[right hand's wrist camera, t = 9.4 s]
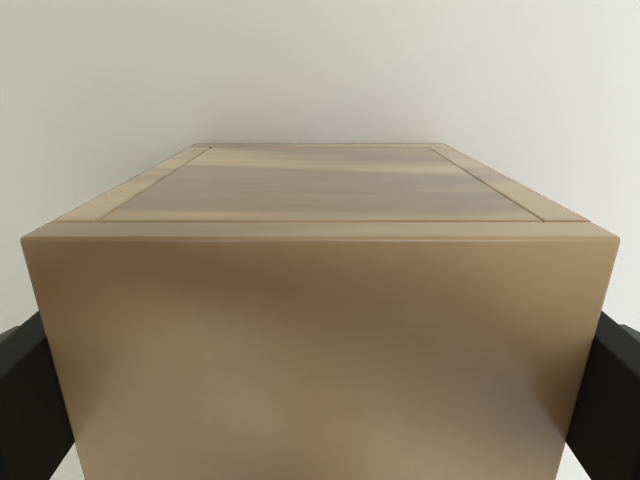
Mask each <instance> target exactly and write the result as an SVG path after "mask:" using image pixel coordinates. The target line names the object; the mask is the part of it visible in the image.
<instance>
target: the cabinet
mask: <svg viewBox="0 0 640 480" xmlns="http://www.w3.org/2000/svg"><path fill="white" fill-rule="evenodd" d="M20 242H21V246H22V250H23V253H24V257H25V261H26V264H27V268H28V272H29V275H30V279H31V283H32V286H33V290H34V294H35V297H36V301H37V305H38V308H39V312H40V316H41V319H42V323H43V327H44V330H45V334H46V338H47V342H48V345H49V349H50V353H51V356H52V360H53V364H54V367H55V371H56V375H57V378H58V382H59V386H60V389H61V393H62V397H63V400H64V404H65V408H66V411H67V415H68V419H69V422H70V426H71V430H72V434H73V437H74V441H75V445H76V448H77V452H78V456H79V459H80V463H81V467H82V470H83V474H84V478H85V480H555V479H556V475H557V472H558V468H559V464H560V461H561V457H562V453H563V450H564V446H565V442H566V439H567V435H568V431H569V428H570V424H571V420H572V416H573V413H574V409H575V405H576V402H577V398H578V394H579V391H580V387H581V383H582V380H583V376H584V372H585V369H586V365H587V361H588V358H589V354H590V350H591V347H592V343H593V339H594V336H595V332H596V328H597V325H598V321H599V317H600V314H601V310H602V306H603V303H604V299H605V295H606V291H607V288H608V284H609V280H610V277H611V273H612V269H613V266H614V262H615V258H616V255H617V251H618V247H619V244H620V238H619V237H618V236H616V235H614V234H612V233H611V232H609V231H607V230H605V229H603V228H601V227H599V226H597V225H595V224H594V223H591V222H590V220H588V219H586V218H584V217H582V216H580V215H578V214H576V213H574V212H573V211H571V210H569V209H567V208H565V207H563V206H561V205H559V204H557V203H555V202H554V201H552V200H550V199H548V198H546V197H544V196H542V195H540V194H538V193H537V192H535V191H533V190H531V189H529V188H527V187H525V186H523V185H521V184H519V183H518V182H516V181H514V180H512V179H510V178H508V177H506V176H504V175H502V174H500V173H499V172H497V171H495V170H493V169H491V168H489V167H487V166H485V165H483V164H482V163H480V162H478V161H476V160H474V159H472V158H470V157H468V156H466V155H464V154H463V153H461V152H459V151H457V150H455V149H453V148H451V147H449V146H447V145H445V144H194V145H192V146H190V147H189V148H187V149H186V150H184V151H182V152H180V153H178V154H176V155H174V156H173V157H171V158H169V159H167V160H165V161H163V162H161V163H160V164H158V165H156V166H154V167H152V168H150V169H148V170H146V171H145V172H143V173H141V174H139V175H137V176H135V177H133V178H132V179H130V180H128V181H126V182H124V183H122V184H120V185H118V186H117V187H115V188H113V189H111V190H109V191H107V192H105V193H104V194H102V195H100V196H98V197H96V198H94V199H92V200H90V201H89V202H87V203H85V204H83V205H81V206H79V207H77V208H76V209H74V210H72V211H70V212H68V213H66V214H64V215H63V216H61V217H59V218H57V219H55V220H53V221H52V222H51V223H48V224H46V225H44V226H42V227H40V228H38V229H36V230H34V231H33V232H31V233H29V234H27V235H25V236H23V237H22V238H21V241H20Z"/></svg>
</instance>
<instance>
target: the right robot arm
mask: <svg viewBox="0 0 640 480" xmlns="http://www.w3.org/2000/svg"><path fill="white" fill-rule="evenodd" d="M74 442H75V441H74V437H73V434H72V430H71V426H70V422H69V419H68V415H67V411H66V408H65V404H64V400H63V397H62V393H61V389H60V386H59V382H58V378H57V375H56V371H55V367H54V364H53V360H52V356H51V353H50V349H49V345H48V342H47V338H46V334H45V330H44V327H43V323H42V319H41V316H40V312H39V311H38V312H37V313H36V314H34V315H33V316H32V317H31V318H29V319H28V320H27V321H26V322H25V323H23V324H22V325H21V326H16V327H14V328H12V329H10V330H8V331H6V332H4V333H2V334H0V480H49V479H50V478H51V476H52V475H53V473H54V472H55V470H56V469H57V467H58V466H59V464H60V463H61V461H62V460H63V458H64V457H65V456H66V454H67V453H68V451H69V450H70V448H71V447H72V445H73V444H74ZM566 443H567V444H568V446H569V447H570V449H571V450H572V452H573V453H574V455H575V456H576V458H577V459H578V461H579V462H580V464H581V465H582V467H583V468H584V470H585V471H586V473H587V474H588V476H589V477H590V479H591V480H640V332H638V331H636V330H634V329H632V328H630V327H628V326H626V325H618V324H617V323H616V322H615V321H613V320H612V319H611V318H610V317H609V316H607V315H606V314H605V313H604V312H603V311H601V314H600V317H599V321H598V325H597V328H596V332H595V336H594V339H593V343H592V347H591V350H590V354H589V358H588V361H587V365H586V369H585V372H584V376H583V380H582V383H581V387H580V391H579V394H578V398H577V402H576V405H575V409H574V413H573V416H572V420H571V424H570V428H569V431H568V435H567V439H566Z"/></svg>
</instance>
